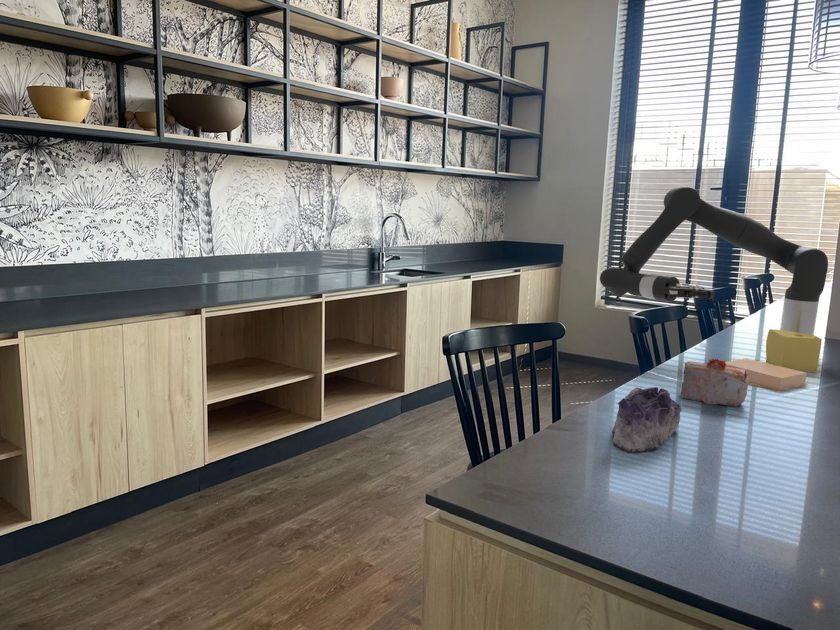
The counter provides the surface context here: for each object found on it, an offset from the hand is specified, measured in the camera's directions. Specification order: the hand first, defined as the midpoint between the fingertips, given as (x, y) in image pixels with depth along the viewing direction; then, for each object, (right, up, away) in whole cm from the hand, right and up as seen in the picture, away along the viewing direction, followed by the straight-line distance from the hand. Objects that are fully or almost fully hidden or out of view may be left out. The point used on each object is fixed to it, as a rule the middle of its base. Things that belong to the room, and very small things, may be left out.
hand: (712, 294), depth 176 cm
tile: (+4, -19, -4) cm, 20 cm away
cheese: (+25, -21, +6) cm, 33 cm away
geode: (-38, -29, -55) cm, 73 cm away
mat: (+6, -22, -8) cm, 24 cm away
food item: (-14, -26, -30) cm, 42 cm away
